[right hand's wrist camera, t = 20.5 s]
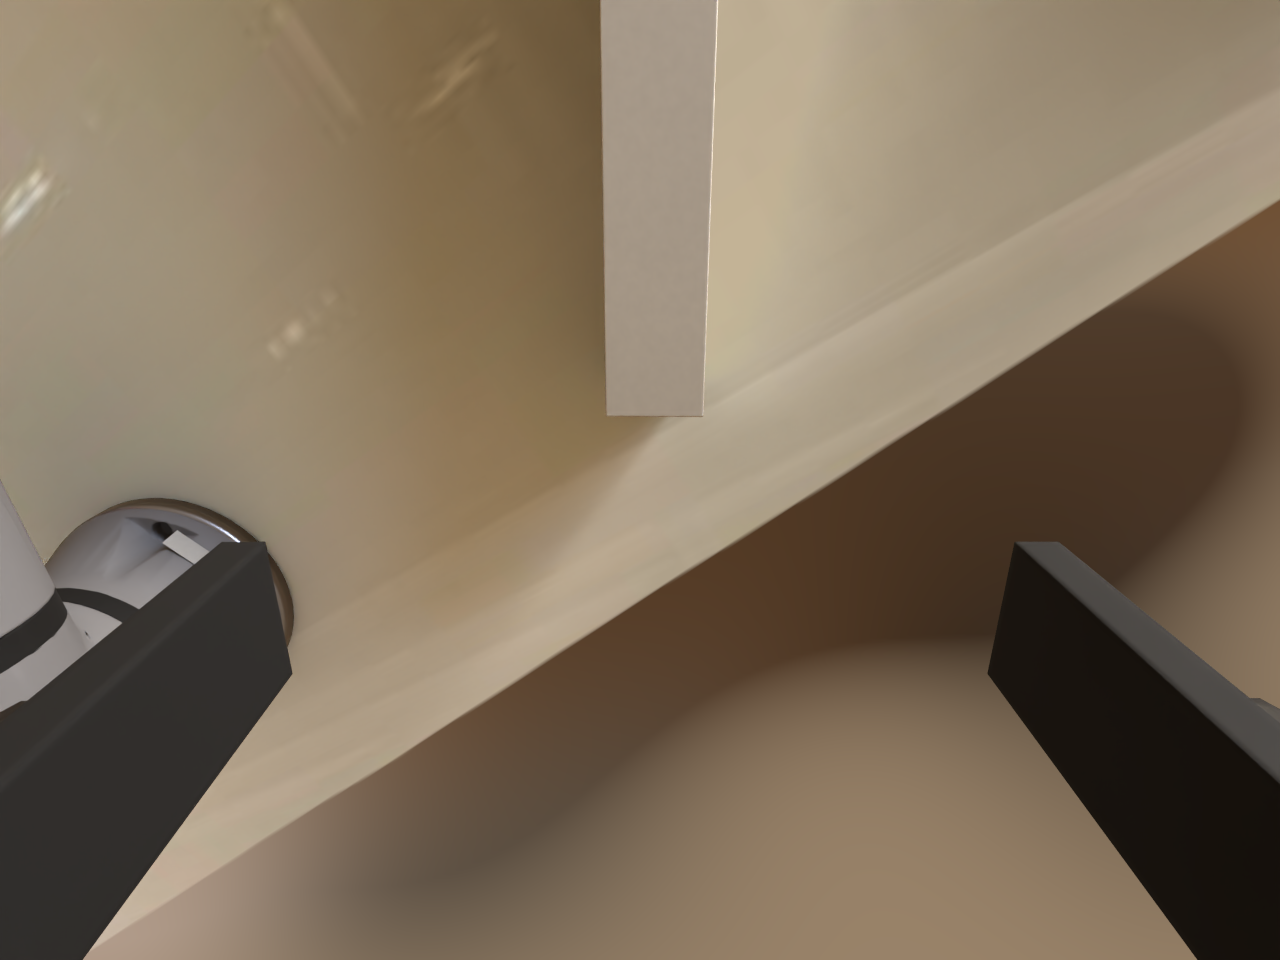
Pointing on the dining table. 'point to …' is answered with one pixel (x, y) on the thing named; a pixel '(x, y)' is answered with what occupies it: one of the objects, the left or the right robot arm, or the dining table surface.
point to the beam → (656, 201)
